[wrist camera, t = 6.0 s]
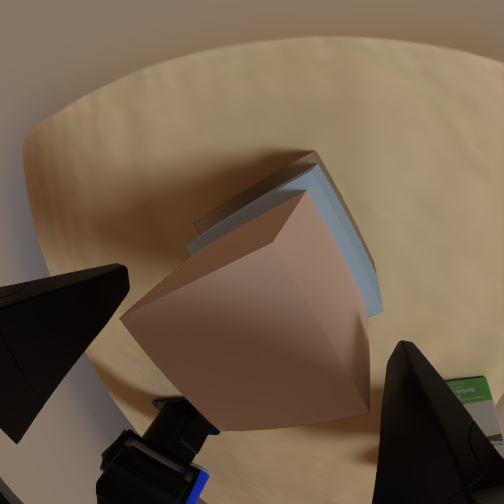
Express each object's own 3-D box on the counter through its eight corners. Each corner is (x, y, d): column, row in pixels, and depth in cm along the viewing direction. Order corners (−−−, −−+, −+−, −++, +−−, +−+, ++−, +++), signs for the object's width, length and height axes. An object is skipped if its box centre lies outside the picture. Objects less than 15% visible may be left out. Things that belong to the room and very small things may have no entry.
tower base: (274, 300, 18) (262, 327, 16) (216, 209, 17) (193, 223, 14) (373, 259, 15) (378, 284, 13) (316, 150, 14) (311, 152, 11)
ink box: (441, 378, 16) (456, 513, 6) (487, 374, 15) (515, 493, 4) (409, 433, 19) (404, 537, 9) (450, 430, 18) (454, 527, 8)
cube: (261, 342, 12) (219, 430, 8) (198, 249, 11) (118, 318, 7) (366, 306, 10) (369, 412, 6) (306, 189, 9) (272, 242, 5)
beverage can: (180, 458, 36) (141, 520, 23) (207, 467, 35) (170, 534, 22) (188, 468, 38) (153, 526, 25) (213, 477, 37) (180, 538, 24)
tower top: (274, 317, 15) (259, 353, 13) (213, 225, 14) (184, 247, 11) (376, 276, 12) (383, 311, 10) (317, 163, 11) (310, 170, 9)
